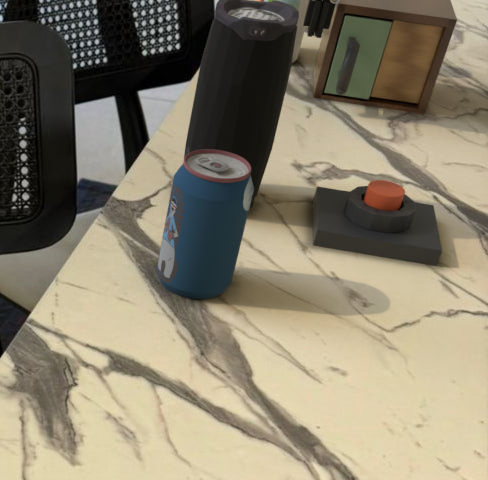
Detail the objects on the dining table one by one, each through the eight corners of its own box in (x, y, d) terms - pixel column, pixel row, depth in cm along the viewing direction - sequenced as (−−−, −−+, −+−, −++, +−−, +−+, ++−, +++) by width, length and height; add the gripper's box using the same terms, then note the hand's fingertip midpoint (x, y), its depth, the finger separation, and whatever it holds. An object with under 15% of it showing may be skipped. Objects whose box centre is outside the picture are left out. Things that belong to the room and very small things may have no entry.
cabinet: (417, 90, 137) (449, -5, 129) (423, 118, 129) (457, 19, 121) (312, 74, 138) (336, -21, 131) (311, 101, 131) (338, 3, 123)
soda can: (242, 286, 95) (273, 164, 87) (204, 315, 91) (232, 190, 83) (180, 259, 98) (204, 138, 90) (139, 285, 94) (161, 162, 86)
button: (398, 199, 103) (404, 183, 102) (400, 215, 101) (406, 199, 100) (362, 193, 104) (367, 177, 103) (363, 209, 101) (369, 193, 100)
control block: (426, 224, 108) (439, 188, 105) (434, 270, 100) (449, 233, 98) (311, 205, 109) (321, 169, 106) (311, 249, 102) (322, 213, 99)
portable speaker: (253, 187, 111) (300, -3, 98) (258, 228, 104) (309, 30, 91) (175, 177, 112) (211, -13, 99) (174, 217, 105) (213, 18, 92)
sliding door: (368, 97, 130) (392, 20, 124) (370, 113, 126) (394, 34, 120) (324, 91, 131) (345, 14, 124) (324, 106, 127) (346, 28, 120)
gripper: (289, -145, 108) (250, 34, 120) (434, -126, 106) (378, 53, 119) (290, -158, 114) (252, 14, 126) (428, -140, 112) (376, 33, 124)
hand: (314, 33), depth 122 cm, fingers closed
